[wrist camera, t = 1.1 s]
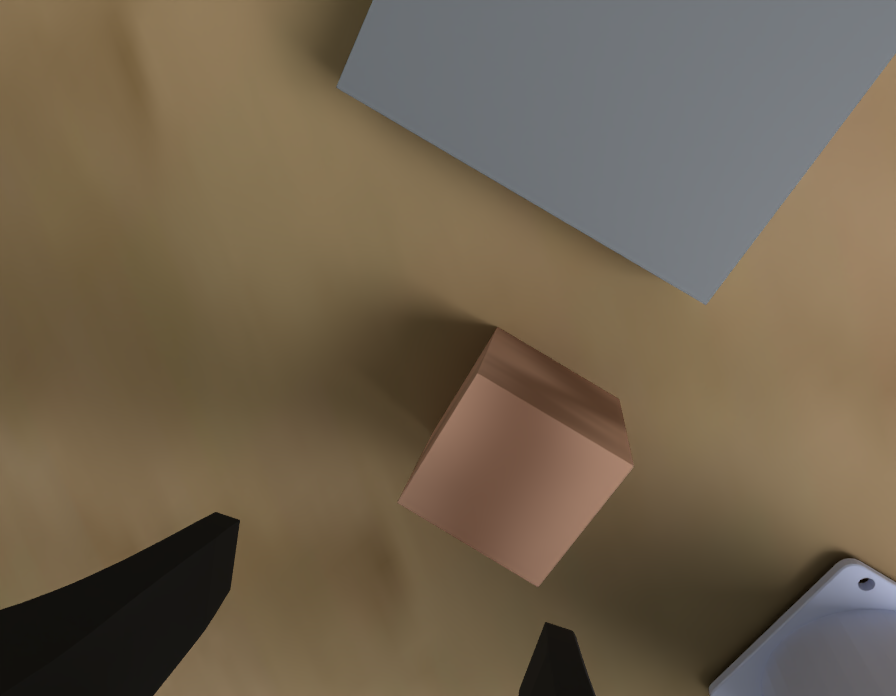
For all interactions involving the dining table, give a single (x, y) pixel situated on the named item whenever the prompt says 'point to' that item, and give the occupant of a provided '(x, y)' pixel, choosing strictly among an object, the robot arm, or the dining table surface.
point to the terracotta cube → (520, 459)
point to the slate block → (630, 108)
